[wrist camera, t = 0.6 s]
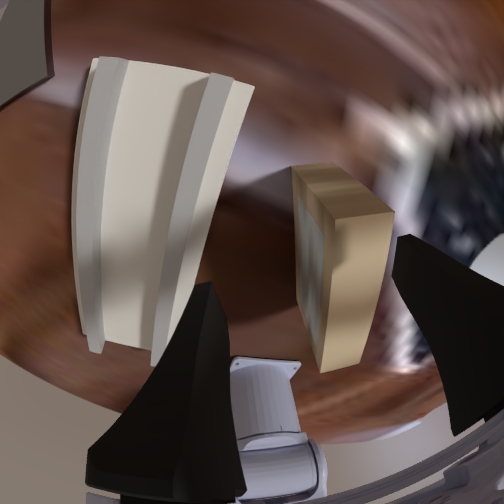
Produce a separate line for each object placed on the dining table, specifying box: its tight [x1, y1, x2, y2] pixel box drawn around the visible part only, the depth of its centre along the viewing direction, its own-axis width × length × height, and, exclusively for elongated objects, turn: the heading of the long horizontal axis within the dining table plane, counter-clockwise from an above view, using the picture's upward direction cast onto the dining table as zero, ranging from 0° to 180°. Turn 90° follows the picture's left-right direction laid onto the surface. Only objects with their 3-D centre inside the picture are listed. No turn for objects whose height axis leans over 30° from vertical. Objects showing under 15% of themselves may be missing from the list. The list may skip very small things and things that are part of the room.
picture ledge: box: [72, 57, 255, 366], centre depth 18 cm, size 24×10×3 cm, turn 162°
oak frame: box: [291, 162, 395, 373], centre depth 18 cm, size 12×3×8 cm, turn 7°
